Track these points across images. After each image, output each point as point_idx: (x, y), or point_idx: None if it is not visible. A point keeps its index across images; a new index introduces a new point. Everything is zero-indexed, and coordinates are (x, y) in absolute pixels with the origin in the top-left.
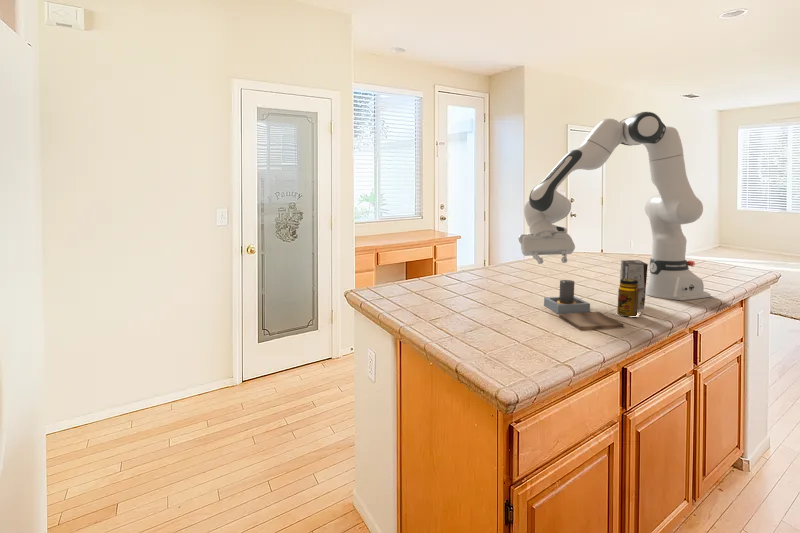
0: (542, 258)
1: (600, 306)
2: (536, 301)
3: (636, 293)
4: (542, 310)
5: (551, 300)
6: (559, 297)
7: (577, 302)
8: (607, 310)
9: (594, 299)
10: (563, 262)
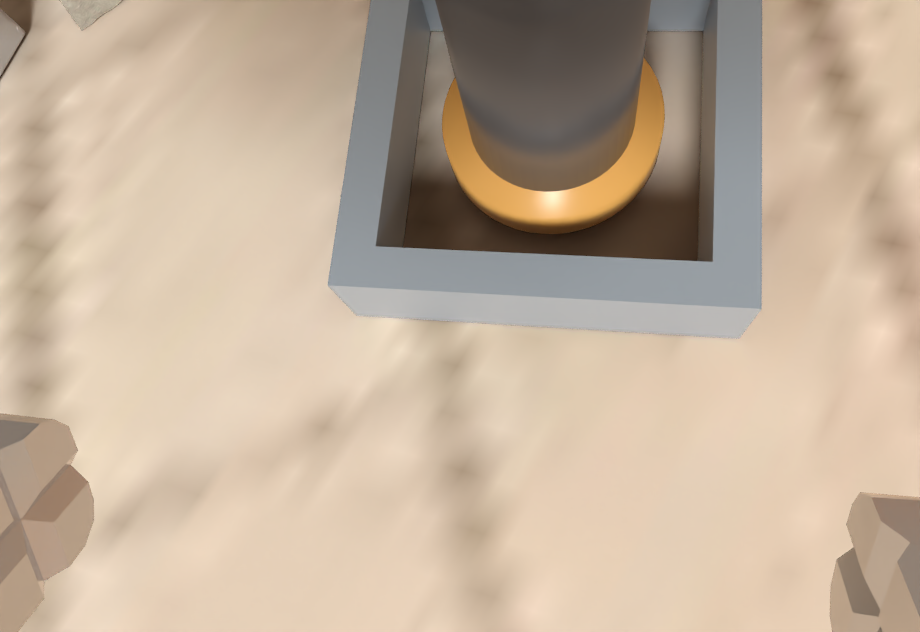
0: (911, 591)
1: (166, 157)
2: (748, 556)
3: None
4: (852, 149)
5: (735, 143)
6: (634, 108)
7: (400, 140)
8: (207, 25)
9: None
10: (71, 486)
